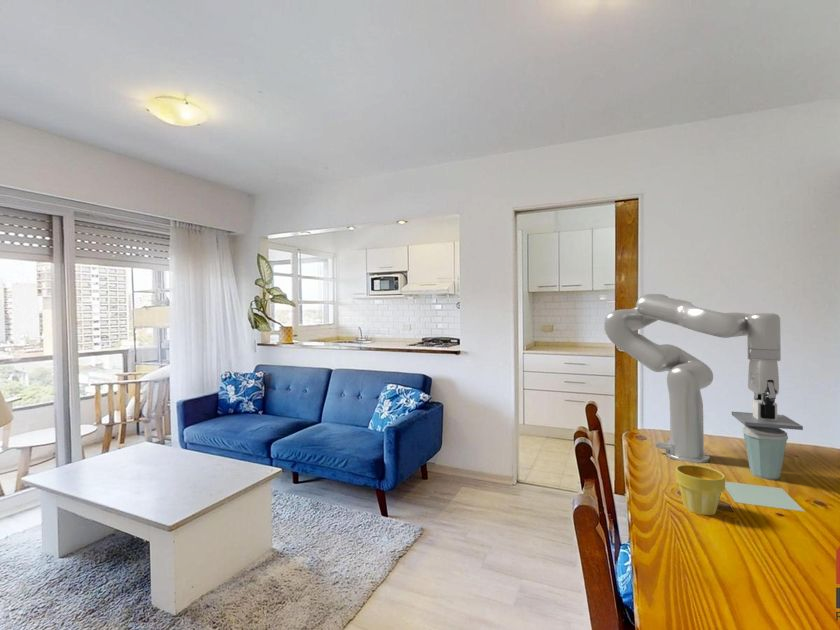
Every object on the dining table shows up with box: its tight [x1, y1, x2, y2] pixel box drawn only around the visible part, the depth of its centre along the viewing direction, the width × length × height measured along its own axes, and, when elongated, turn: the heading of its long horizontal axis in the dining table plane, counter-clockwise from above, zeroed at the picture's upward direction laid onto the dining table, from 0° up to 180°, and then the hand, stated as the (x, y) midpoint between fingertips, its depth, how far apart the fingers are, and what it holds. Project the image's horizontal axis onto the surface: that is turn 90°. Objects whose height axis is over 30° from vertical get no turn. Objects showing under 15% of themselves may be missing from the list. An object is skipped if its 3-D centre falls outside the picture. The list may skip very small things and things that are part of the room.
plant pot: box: [674, 463, 726, 516], centre depth 104 cm, size 10×10×10 cm
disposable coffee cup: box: [741, 425, 789, 481], centre depth 123 cm, size 11×11×15 cm
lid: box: [731, 399, 804, 431], centre depth 122 cm, size 13×13×6 cm
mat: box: [725, 481, 806, 513], centre depth 110 cm, size 14×14×1 cm
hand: (764, 415), depth 122 cm, fingers closed on lid, 4 cm apart
